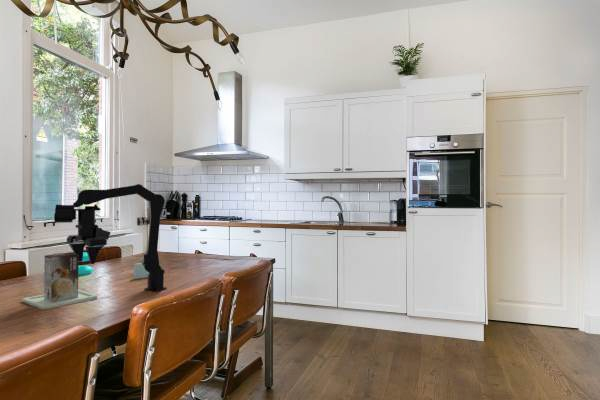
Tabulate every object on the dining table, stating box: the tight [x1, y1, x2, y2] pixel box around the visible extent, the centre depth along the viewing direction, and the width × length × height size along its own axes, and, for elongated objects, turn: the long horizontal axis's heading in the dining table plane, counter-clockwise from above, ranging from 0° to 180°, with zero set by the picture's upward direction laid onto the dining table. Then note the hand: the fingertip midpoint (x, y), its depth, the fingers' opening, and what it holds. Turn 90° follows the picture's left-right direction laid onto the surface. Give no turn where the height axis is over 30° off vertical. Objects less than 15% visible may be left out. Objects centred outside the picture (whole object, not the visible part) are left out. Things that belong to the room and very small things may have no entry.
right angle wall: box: [133, 262, 150, 280], centre depth 180 cm, size 12×12×8 cm
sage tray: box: [22, 289, 98, 311], centre depth 135 cm, size 16×18×1 cm
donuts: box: [78, 251, 94, 276], centre depth 180 cm, size 10×10×10 cm
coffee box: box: [43, 252, 79, 302], centre depth 135 cm, size 9×6×16 cm
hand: (86, 262), depth 142 cm, fingers open, 9 cm apart
